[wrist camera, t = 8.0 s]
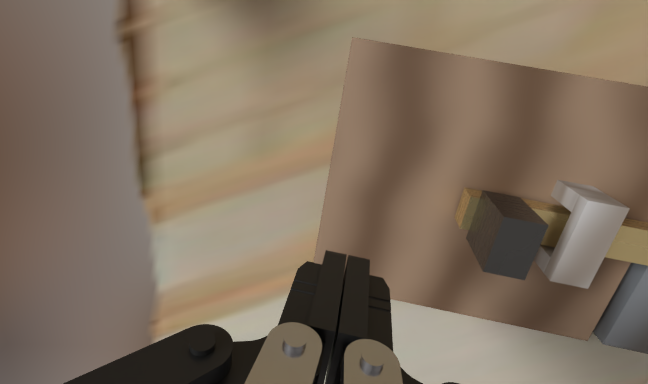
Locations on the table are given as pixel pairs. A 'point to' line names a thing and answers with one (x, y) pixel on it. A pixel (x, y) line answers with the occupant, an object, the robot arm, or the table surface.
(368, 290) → the robot arm
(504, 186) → the sliding latch board
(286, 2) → the table surface
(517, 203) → the barrel bolt
